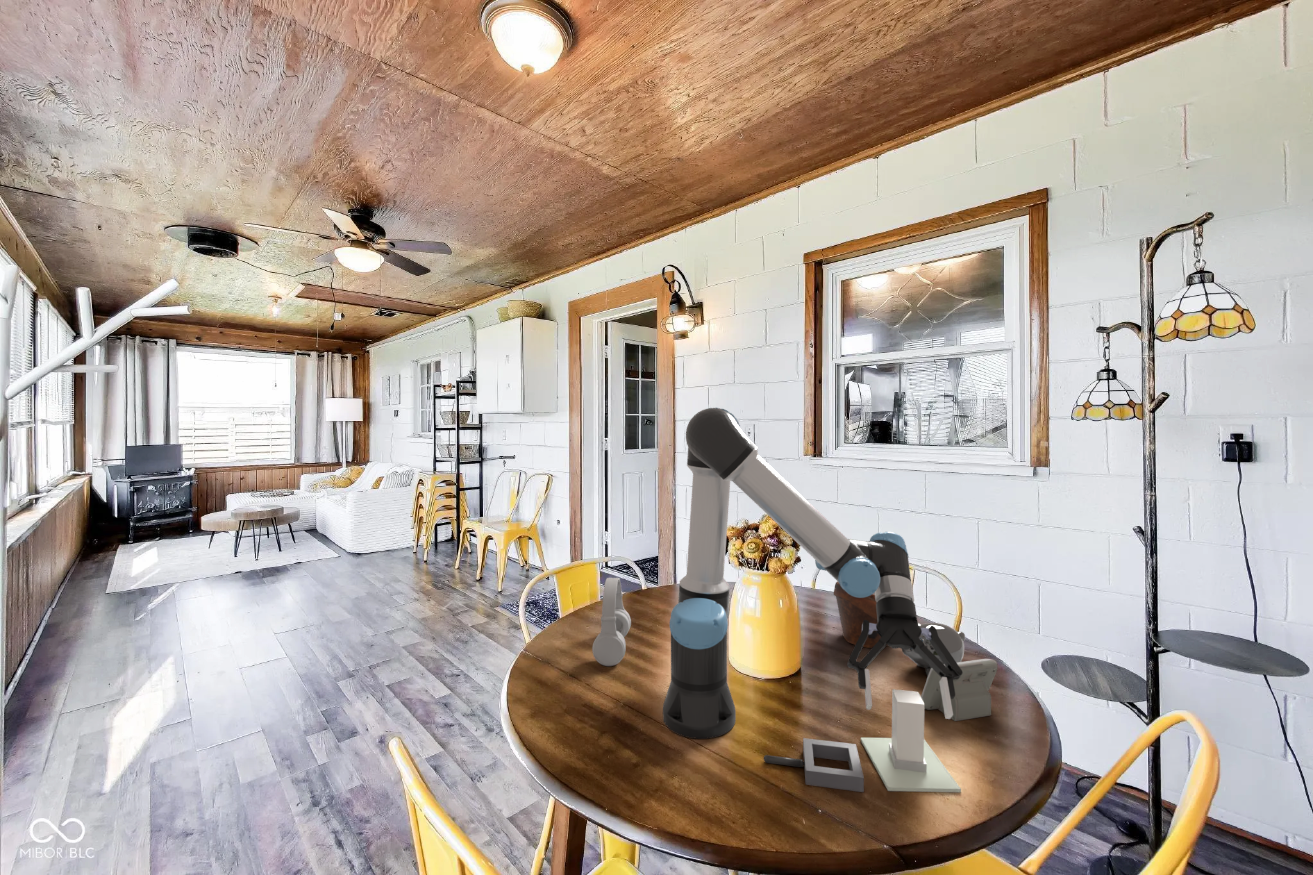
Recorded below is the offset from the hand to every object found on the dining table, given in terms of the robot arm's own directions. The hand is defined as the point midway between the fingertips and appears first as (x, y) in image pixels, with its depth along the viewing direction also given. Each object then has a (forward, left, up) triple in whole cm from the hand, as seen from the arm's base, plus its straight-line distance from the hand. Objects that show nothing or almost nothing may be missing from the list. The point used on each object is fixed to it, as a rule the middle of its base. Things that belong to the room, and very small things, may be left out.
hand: (908, 712), depth 100 cm
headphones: (-60, +44, -9) cm, 75 cm away
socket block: (-18, -3, -9) cm, 21 cm away
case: (+10, +52, -9) cm, 54 cm away
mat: (-1, -2, -9) cm, 9 cm away
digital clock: (+18, +17, -9) cm, 26 cm away
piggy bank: (+20, +34, -9) cm, 40 cm away
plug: (-1, -2, -8) cm, 8 cm away
